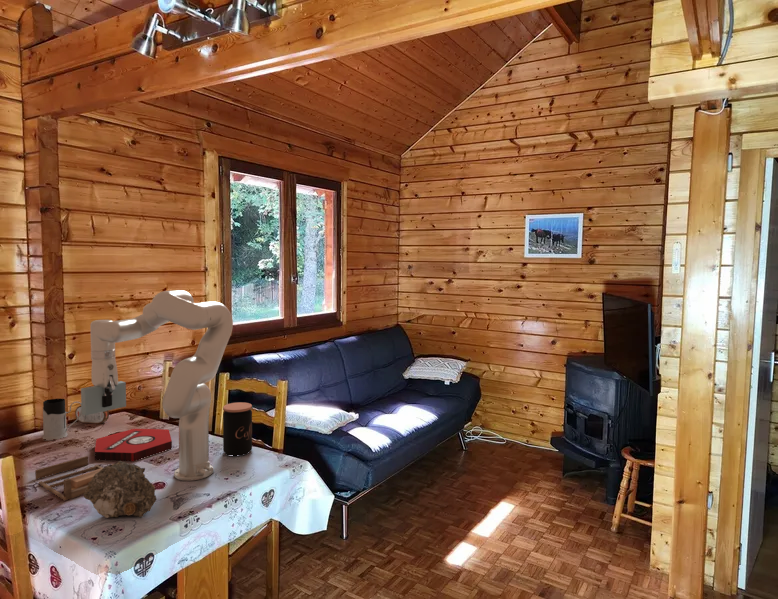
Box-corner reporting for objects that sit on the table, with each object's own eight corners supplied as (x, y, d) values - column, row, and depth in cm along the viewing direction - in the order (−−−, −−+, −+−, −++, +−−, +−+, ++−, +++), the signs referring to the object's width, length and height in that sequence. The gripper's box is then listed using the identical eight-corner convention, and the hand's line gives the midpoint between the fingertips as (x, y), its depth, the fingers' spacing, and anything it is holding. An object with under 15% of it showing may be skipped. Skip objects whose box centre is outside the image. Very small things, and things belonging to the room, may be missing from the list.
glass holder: (43, 435, 210) (42, 399, 209) (83, 430, 217) (82, 395, 216) (40, 441, 202) (39, 404, 201) (82, 436, 209) (81, 400, 208)
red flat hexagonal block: (74, 460, 184) (155, 462, 184) (74, 451, 184) (155, 453, 183) (115, 436, 211) (186, 438, 210) (115, 428, 211) (186, 429, 210)
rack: (124, 481, 167) (124, 463, 167) (64, 500, 152) (63, 481, 152) (90, 463, 181) (89, 446, 181) (32, 479, 167) (31, 462, 166)
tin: (109, 422, 227) (109, 404, 227) (104, 425, 224) (104, 406, 224) (79, 421, 229) (78, 402, 229) (74, 423, 226) (73, 404, 226)
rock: (99, 465, 137) (132, 437, 152) (72, 497, 141) (107, 467, 156) (152, 508, 139) (180, 476, 153) (123, 539, 143) (153, 505, 157)
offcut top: (108, 477, 166) (108, 471, 166) (76, 488, 157) (76, 482, 157) (101, 474, 168) (100, 468, 168) (69, 485, 160) (69, 478, 159)
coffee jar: (236, 459, 187) (236, 411, 186) (217, 453, 193) (216, 407, 192) (258, 450, 196) (258, 405, 195) (238, 445, 202) (238, 400, 201)
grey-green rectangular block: (126, 406, 186) (125, 382, 185) (85, 415, 174) (85, 389, 174) (121, 405, 187) (121, 381, 187) (81, 413, 176) (80, 388, 175)
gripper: (126, 355, 178) (127, 407, 179) (102, 350, 187) (103, 399, 188) (104, 358, 172) (105, 412, 173) (80, 353, 181) (82, 404, 182)
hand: (104, 405), depth 181 cm, fingers closed on grey-green rectangular block, 3 cm apart
